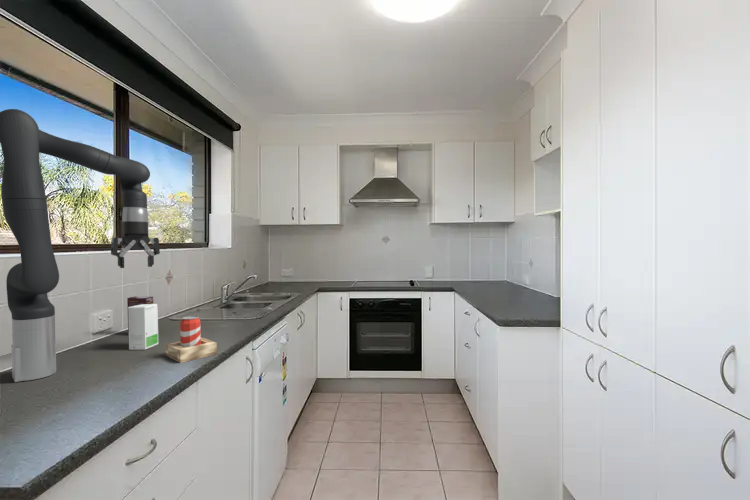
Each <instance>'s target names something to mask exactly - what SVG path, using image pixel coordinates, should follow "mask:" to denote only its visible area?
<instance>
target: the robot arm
mask: <svg viewBox="0 0 750 500" xmlns="http://www.w3.org/2000/svg"><path fill="white" fill-rule="evenodd" d="M0 147H1V151H2V158H3V170H2V177H1V188H0V195H1V196H0V197H1V203H2V210H3V217H4V219H5V221H6V223H7V225H8V227H9V229H10V231H11V232H12V234H13V236H14V238H15V239H16V241H17V244H18V247H19V251H20V260H21V262H18V263H16V264H15V265H14V266H12V267H11V268H10V269H9V270H8V272H7V274H6V280H5V281H6V295H7V296H6V297H7V307H8V309H9V311H10V313H11V329H12V331H11V332H12V333H11V334H12V335H11V336H12V342H11V343H12V344H11V348H10V349H11V369H12V370H11V377H12V380H13V381H14V383H17V382H23V381H24V382H26V381H33V380H39V379H42V378H46V377H49V376H53V375H55V374H56V373H57V351H56V350H57V349H56V347H57V346H56V343H57V342H56V339H57V338H56V310H55V305H54V304H53V303H52V302H51V301H50V299H49V296H48V293H50V292H52V291H53V290H54V289H55V288H56V287H57V286H58V284H59V280H60V272H59V268H58V267H59V266H58V264H57V260H56V257H55V253H54V249H53V244H52V236H51V227H50V221H49V220H50V219H49V210H48V202H47V195H46V191H45V190H46V188H45V184H44V183H45V182H44V180H43V174H42V169H41V164H40V154H45V155H48V156H51V157H54V158H58V159H61V160H64V161H66V162H70V163H73V164H76V165H78V166H80V167H81V166H82V167H83V168H87V169H89V170H92V171H95V172H98V173H101V174H104V175H107V176H108V175H110V176H111V175H113V176H118V177H119V184H120V188H121V192H122V203H123V205H122V218H121V220H122V237H115V236H114V237H112V238H111V242H110V243H111V247H110V254H111V256H115V257H117V265H118V267H119V268H120V269H125V257H124V256H125V254H126V253H128V252H129V251H144V252H145V253H146V254H147V255H148V256H147V267H148V268H151V267H153V266H154V264H155V258H154V257H155V256H157V255H160V253H161V252H160V251H161V250H160V240H159V237H151V238H150V237H149V212H148V198H147V193H146V192H144V191H143V186H142V183H143V184H144V183H146V182H147V181H148V180H149V179H150V177H151V172H150V170H149V168H148V167H147V166H146V165H145V164H144V163H141V162H139V161H137V160H134V159H131V158H127V157H124V156H118V155H114V154H112V153H110V152H108V151H105V150H103V149H100V148H97V147H96V146H92V145H89V144H86V143H81V142H78V141H73V140H70V139H65V138H62V137H59V136H56V135H53V134H50V133H48V132H46V131H44V130H42V129H40V128H39V126H38V123H37V122H36V120H35V119H34V118H33V116H31V115H30V114H29V113H27V112H25V111H23V110H21V109H17V108H10V109H9V108H7V109H4V110H1V111H0ZM121 243H122V244H123V245H124V246H122V247H121V250H120V251H119V252H118V250H119V249H118V248H119V247H118V246H119V245H120V244H121ZM149 243H151V244H152V250H151V248H150V247H149V245H148V244H149Z"/></svg>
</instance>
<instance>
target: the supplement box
mask: <svg viewBox="0 0 750 500" xmlns="http://www.w3.org/2000/svg"><path fill="white" fill-rule="evenodd" d="M126 301H127V308H128V307H131V306H136V305H141V304H154V296H130V297H127V299H126ZM127 334H128V336H129V319H128V318H127Z"/></svg>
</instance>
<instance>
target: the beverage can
mask: <svg viewBox="0 0 750 500" xmlns="http://www.w3.org/2000/svg"><path fill="white" fill-rule="evenodd" d="M179 324H180V325H179V327H180V330H179V331H180V336H179V337H180V341H181V347H184V348H186V347H191V346H196V345H200V344H201V336H202V335H201V329H202V328H201V319H200V317H199V316H198V315H189V316H183V317H182V319H181V321H180V322H179Z"/></svg>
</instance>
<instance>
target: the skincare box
mask: <svg viewBox="0 0 750 500" xmlns="http://www.w3.org/2000/svg"><path fill="white" fill-rule="evenodd" d="M158 310H159V309H158V303H153V304H141V305H136V306H131V307H128V306H127V320H128V319H129V335H128V350H131V351H139V350H140V351H141V350H142V351H143V350H147V349H150V348H152V347H156V346H157V345H159V320H158V319H159V318H158V316H159V315H158V313H159V312H158Z"/></svg>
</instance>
